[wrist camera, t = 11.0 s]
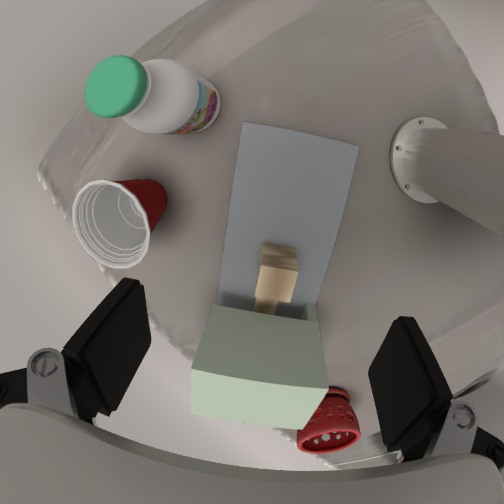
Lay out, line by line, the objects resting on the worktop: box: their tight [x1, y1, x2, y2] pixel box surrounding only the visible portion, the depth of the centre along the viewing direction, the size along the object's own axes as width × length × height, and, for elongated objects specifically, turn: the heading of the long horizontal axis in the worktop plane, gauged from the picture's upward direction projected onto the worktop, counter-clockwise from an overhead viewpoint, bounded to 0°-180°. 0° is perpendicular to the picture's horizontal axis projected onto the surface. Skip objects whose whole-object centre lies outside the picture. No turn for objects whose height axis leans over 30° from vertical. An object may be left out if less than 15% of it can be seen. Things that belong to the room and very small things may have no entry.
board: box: [217, 122, 359, 320], centre depth 39 cm, size 15×36×1 cm, turn 171°
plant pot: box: [297, 388, 361, 454], centre depth 48 cm, size 13×13×12 cm
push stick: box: [253, 242, 299, 315], centre depth 39 cm, size 4×20×7 cm, turn 171°
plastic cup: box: [73, 179, 167, 268], centre depth 32 cm, size 11×11×12 cm
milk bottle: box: [85, 55, 221, 134], centre depth 22 cm, size 8×8×20 cm
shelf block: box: [191, 303, 329, 430], centre depth 36 cm, size 15×10×18 cm, turn 81°
